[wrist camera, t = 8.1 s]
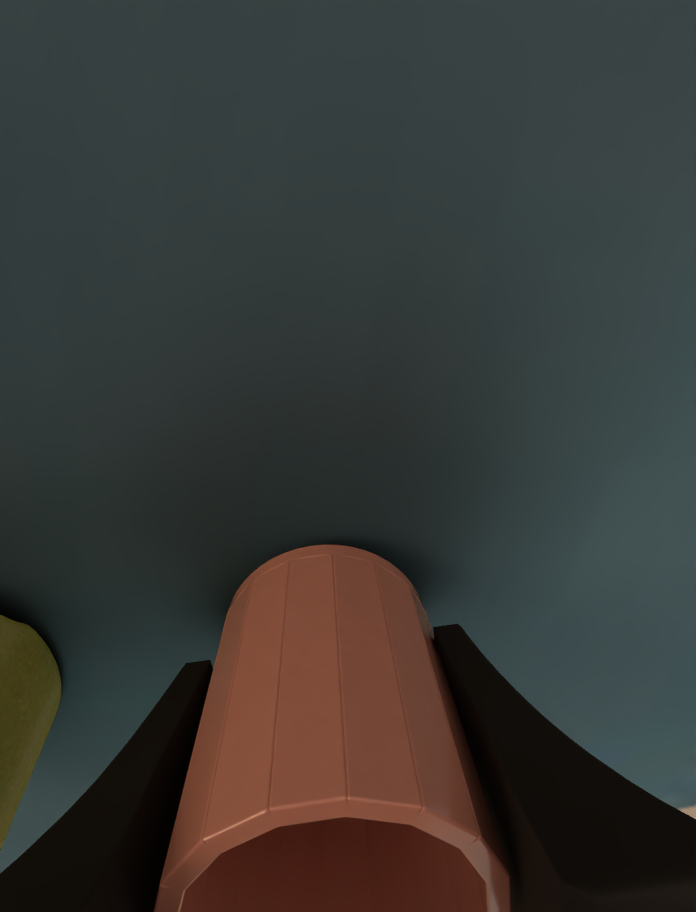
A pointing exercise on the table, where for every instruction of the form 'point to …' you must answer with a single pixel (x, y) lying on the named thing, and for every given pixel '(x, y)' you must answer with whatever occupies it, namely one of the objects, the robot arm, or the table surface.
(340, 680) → the rose cup
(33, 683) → the plant pot
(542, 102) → the table surface
